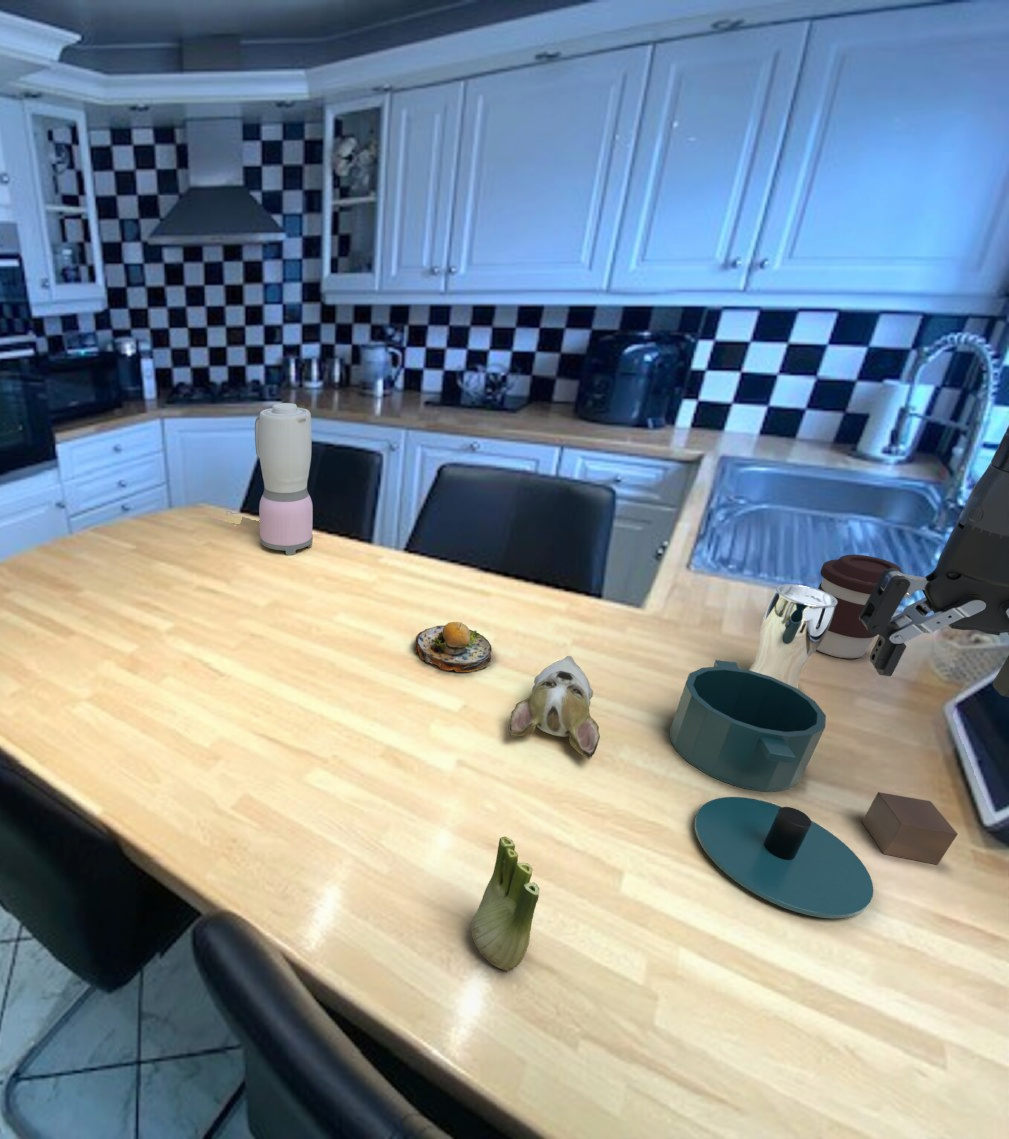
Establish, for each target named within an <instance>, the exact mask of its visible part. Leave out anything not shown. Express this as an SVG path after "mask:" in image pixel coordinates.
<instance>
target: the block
mask: <svg viewBox="0 0 1009 1139" xmlns="http://www.w3.org/2000/svg"><path fill="white" fill-rule="evenodd" d="M861 823H862V824H863V826H864V827H865V829H866V830H867V832H868V834H870V836H871V837H872V840H874V842H875V844H876V845H877V846H878V848H879V849H880V851H881V852H882V854H883V855H887V856H892V857H895V858H902V859H906V860H912V861H916V862H921V863H927V864H931V865H936V866H937V865H939V864H940V862H941V860H942V859H943V858H944V856H945V855H946V853H947V852H948V850H949V848H950V847H951V845H952V844H953V842H954V841H955V839H956V838H957V836H958V833H957V831H956V830H955V829H954V828H953V826H952V825H951V824H950V822H949V821H947V819H946V818H945V816H944V815H942V813H941V812H940V811H939V810H938V809H937V807H936V806H935V805H934V804H933V801H931V800H926V799H920V798H915V797H909V796H903V795H897V794H893V793H886V792H881V791H878V792H877V793H876V795H875V796H874V798H873V800H872V802H871V804H870V806H869V807H868V810H867V811H866V813H865V815H864V816H863V819H862V821H861Z"/></svg>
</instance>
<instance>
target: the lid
mask: <svg viewBox="0 0 1009 1139" xmlns="http://www.w3.org/2000/svg"><path fill="white" fill-rule="evenodd" d="M694 831H695V834H696V838H697V840H698V842H699V844H700V846H701V848H702V849H703V851H704V852H705V854H706V855H707V857H708V858H710V860H711V862H713V863H714V864H715V865H716V867H718V869H720V870H721V871H722V872H723V873H725V874H726V876H728V877H729V878H731V879H732V880H733V881H734V882H736V883H737V884H738V885H740V886H741V887H743V888H745V889H746V890H747V891H749V892H751V893H752V894H754V895H756V896H758V897H759V898H762V899H763V900H765V901H767V902H770V903H771V904H774V905H777V906H778V907H781V908H783V909H786V910H789V911H792V912H795V913H799V914H802V915H806V916H809V917H816V918H823V919H846V918H851V917H854V916H857V915H859V914H860V913H862V912H864V911H865V910H866V909H867V908H868V906H869V905H870V904H871V902H872V899H873V897H874V885H873V880H872V878H871V877H872V876H871V875H870V873H869V871H868V870H867V868H866V866H865V865H864V863H863V861H862V860H861V859H860V858H859V856H857V855H856V853H855V852H854V851H853V850H852V849H851V848H850V847H849V846H848V845H846V843H844V842H843V841H842V840H840V839H839V838H838V837H837V836H836V835H835V834H833V833H831V832H830V831H829V830H827V829H826V828H825V827H823V826H821V825H819V824H818V823H817V822H815V821H813V820H812V819H811V818H810V817H809V816H808V815H807V814H806V813H805V812H803V811H801V810H799V809H797V808H794V807H791V806H780V805H777V804H774V803H771V802H769V801H764V800H760V799H756V798H750V797H743V796H742V797H741V796H725V797H724V796H723V797H718V798H715V799H711V800H710V801H707V802H706V803H704V804H703V805H701V807H700V808H699V809H698V811H697V813H696V815H695V819H694Z"/></svg>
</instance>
